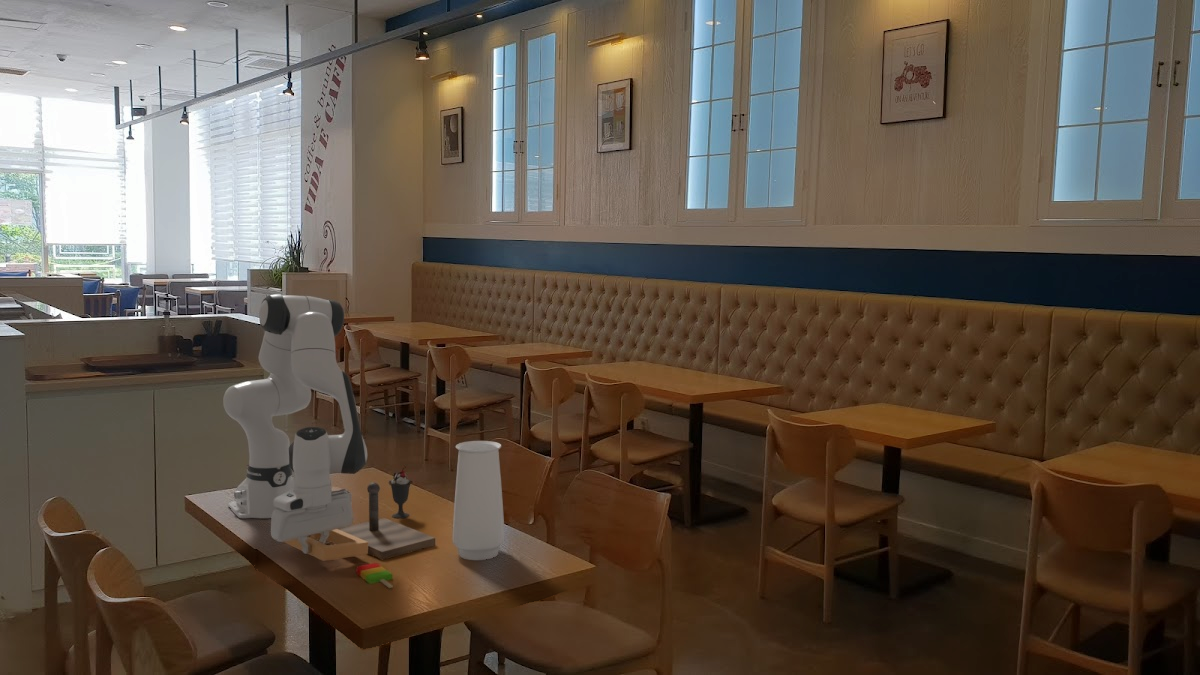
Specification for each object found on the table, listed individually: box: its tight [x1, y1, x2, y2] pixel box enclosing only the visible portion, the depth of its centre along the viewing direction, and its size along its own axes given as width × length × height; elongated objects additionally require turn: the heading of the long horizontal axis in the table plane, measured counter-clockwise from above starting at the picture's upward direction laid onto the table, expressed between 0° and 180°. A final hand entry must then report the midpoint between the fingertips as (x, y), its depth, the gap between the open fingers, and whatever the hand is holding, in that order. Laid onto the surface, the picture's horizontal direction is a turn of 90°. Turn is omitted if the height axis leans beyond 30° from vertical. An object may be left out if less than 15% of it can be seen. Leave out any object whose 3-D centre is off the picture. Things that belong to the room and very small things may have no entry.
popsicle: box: [356, 562, 394, 589], centre depth 216 cm, size 6×15×2 cm, turn 36°
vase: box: [452, 440, 505, 561], centre depth 233 cm, size 13×13×28 cm
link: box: [282, 528, 369, 562], centre depth 230 cm, size 20×12×3 cm, turn 46°
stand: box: [338, 482, 436, 560], centre depth 242 cm, size 24×16×15 cm, turn 46°
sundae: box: [388, 465, 413, 519], centre depth 265 cm, size 7×7×15 cm
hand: (313, 551), depth 224 cm, fingers closed on link, 2 cm apart
